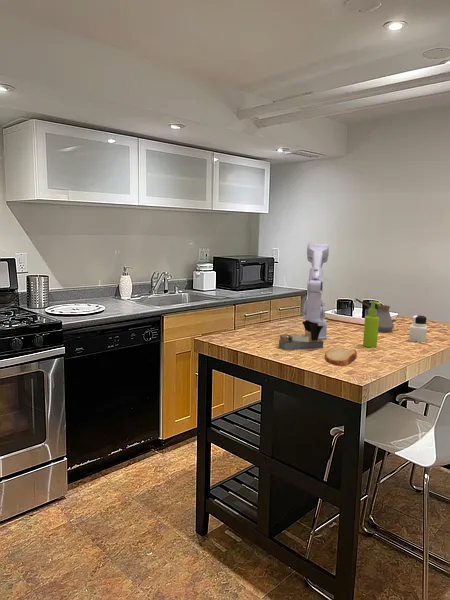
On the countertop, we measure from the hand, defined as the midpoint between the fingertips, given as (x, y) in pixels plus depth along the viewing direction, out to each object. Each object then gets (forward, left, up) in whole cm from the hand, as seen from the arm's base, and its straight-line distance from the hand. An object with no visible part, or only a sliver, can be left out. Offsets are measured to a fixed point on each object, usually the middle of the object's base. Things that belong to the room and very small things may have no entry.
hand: (311, 339), depth 203 cm
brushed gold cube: (0, 0, 0) cm, 0 cm away
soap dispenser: (-27, +4, -4) cm, 28 cm away
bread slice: (-3, +20, -4) cm, 20 cm away
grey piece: (+5, 0, -3) cm, 6 cm away
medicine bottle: (-56, -1, -4) cm, 56 cm away
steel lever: (+7, +2, 0) cm, 7 cm away
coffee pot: (-50, -28, -4) cm, 57 cm away
